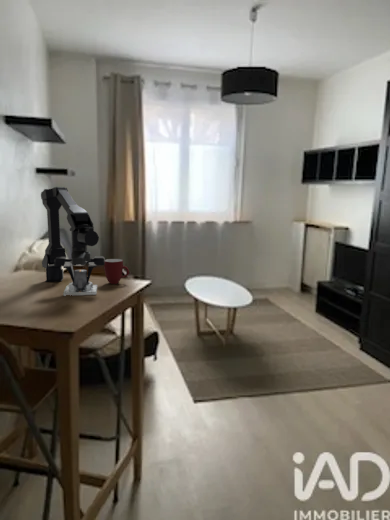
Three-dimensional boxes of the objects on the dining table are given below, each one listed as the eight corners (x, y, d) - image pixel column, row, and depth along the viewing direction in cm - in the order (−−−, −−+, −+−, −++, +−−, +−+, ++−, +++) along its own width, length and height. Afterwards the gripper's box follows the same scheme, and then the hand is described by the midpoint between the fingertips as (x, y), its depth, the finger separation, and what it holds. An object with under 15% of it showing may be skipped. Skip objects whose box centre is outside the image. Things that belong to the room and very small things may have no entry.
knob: (74, 284, 161) (74, 269, 160) (87, 284, 162) (87, 269, 161) (73, 288, 155) (72, 272, 154) (86, 287, 156) (86, 272, 155)
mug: (128, 280, 180) (128, 258, 178) (129, 284, 172) (129, 261, 170) (104, 281, 177) (103, 259, 176) (104, 285, 170) (103, 262, 168)
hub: (63, 295, 152) (63, 287, 152) (67, 288, 164) (66, 280, 163) (96, 294, 155) (95, 286, 154) (97, 287, 166) (97, 279, 166)
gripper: (51, 246, 146) (53, 288, 149) (103, 245, 150) (104, 286, 153) (55, 242, 157) (57, 281, 160) (104, 242, 161) (105, 280, 164)
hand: (80, 282), depth 159 cm, fingers closed on knob, 5 cm apart
